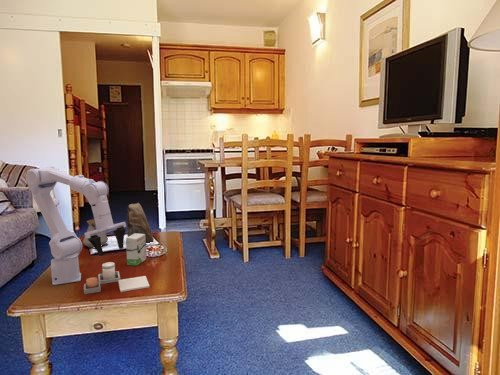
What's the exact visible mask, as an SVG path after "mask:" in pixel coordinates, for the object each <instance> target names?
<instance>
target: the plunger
mask: <svg viewBox="0 0 500 375" xmlns="http://www.w3.org/2000/svg"><path fill="white" fill-rule="evenodd" d="M85 282H86V283H85V284H87V287H88V288H87V289H89V288H93V287H94V288H95V287H96V286H97V285H98V282H99V281H98V277H97V276H96V277H95V276H94V277H88V278H86V280H85Z"/></svg>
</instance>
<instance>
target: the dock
mask: <svg viewBox="0 0 500 375" xmlns="http://www.w3.org/2000/svg"><path fill="white" fill-rule="evenodd" d="M115 276H117V277H115V278H114V279H107V280H103V279H101V278H103V273H98V275H97V280H98V281H97V282H98V285H97V286H96V287H93V288H88V287H87V284H86V283H83V295H89V294H95V293H101V292H102V288H101V285H105V284H111V283H119V282H118V280H121V276H120V271H119V270H118V271H117V270H115Z"/></svg>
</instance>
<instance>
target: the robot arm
mask: <svg viewBox="0 0 500 375" xmlns="http://www.w3.org/2000/svg"><path fill="white" fill-rule="evenodd" d="M25 182H26V184H27V186H28V188H29V190H30V192H31V194H32V196H33V199H34V201H35V202H36V205H37V206H38V209H39V211H40V213H41V214H42V217H43V220H44V221H45V223H46V225H47V227H48V229H49V231H50V233H51V235H52V237H51V239H50V241H49V242H48V244H49V247H50V253H51V255H52V257H53V258H52V259H50V269H51V270H50V271H51V282H52V284H51V285H52V286H56V285H62V284H69V283H76V282H81V280H82V273H81V272H80V264H79V263H80V262H79V255H80V252H82V250H83V243H82V242H83V241H81V239H80V238H79V237H78V236H77V235H76V232H74V231H71V230H69V229H68V228H67V226H66V223H65V222H64V220H63V217H62V216H61V213H60V212H59V209H58V208H57V205H56V204H55V202H54V199H53V198H52V195H51V192H52V191H53V190H54V188H55V186H56V185H57V183H61V184H63V185H67V186H69V188H70V190H72V191H75V192H76V193H79V194H81V195H83V196H84V197H85V198H86V199H87V201H88V203H89V205H90V206H91V207H90V208H91V211H92V215H93V219H95V223H96V227H97V229H96V230H93V231H90V232H87V231H86V232H87V233H86V232H84V234H83V235H84V237H85V238H88V241H89V242H90V243H91V244H92V245H93V246H94V247H95V248H94V249H95V251H96V252H97V253H98V256H99V257H103V256H104V250H103V248H102V247H103V246H101V237H98V236H97V235H100V234H103V233H105V234H106V233H110V232H113V234H114V237H115V239H116V241H117V242H116V243H117V246H118V249H119V250H123V249H124V241H125V240H124V239H125V234H126V231H127V229H126V228H127V223H126V221H121V222H118V223H114V220H113V218H112V217H113V216H112V214H111V213H112V212H111V208H110V204H109V200H108V197H107V196H108V194H109V186H108V184H107V183H106V182H104V181H103V180H100V181H99V180H98V181H97V182H96V181H95V180H94V179H92V178H87V177H85V175H83V174H78V175H74V176H73V175H70V174H68V173H66V172H64V171H62V170H60V168H58V167H55V166H50V167H42V168H41V167H40V168H30V169H28V170H27V171H26V175H25ZM102 231H104V232H102Z"/></svg>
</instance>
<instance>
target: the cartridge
mask: <svg viewBox="0 0 500 375" xmlns="http://www.w3.org/2000/svg"><path fill="white" fill-rule="evenodd" d="M101 269H102V274H103V277H102V280H107V279H114V278H116V275H115V272H116V264H115V262H113V261H108V262H104V263H102V265H101Z"/></svg>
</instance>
